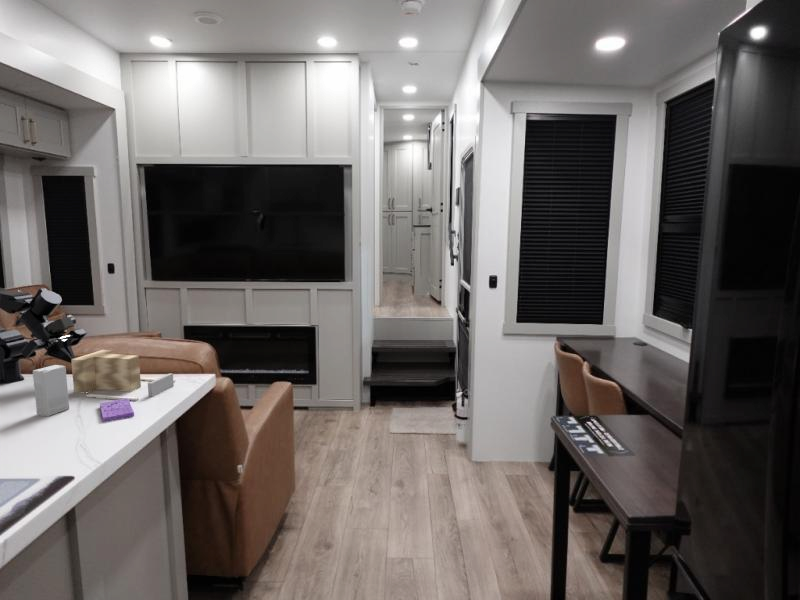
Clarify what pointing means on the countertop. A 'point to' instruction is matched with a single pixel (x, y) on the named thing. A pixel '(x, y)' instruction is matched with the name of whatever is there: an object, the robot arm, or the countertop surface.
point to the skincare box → (51, 390)
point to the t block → (106, 372)
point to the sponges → (116, 410)
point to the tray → (153, 387)
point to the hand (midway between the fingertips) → (74, 362)
